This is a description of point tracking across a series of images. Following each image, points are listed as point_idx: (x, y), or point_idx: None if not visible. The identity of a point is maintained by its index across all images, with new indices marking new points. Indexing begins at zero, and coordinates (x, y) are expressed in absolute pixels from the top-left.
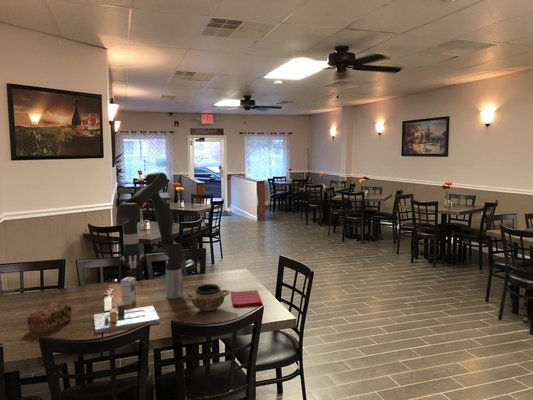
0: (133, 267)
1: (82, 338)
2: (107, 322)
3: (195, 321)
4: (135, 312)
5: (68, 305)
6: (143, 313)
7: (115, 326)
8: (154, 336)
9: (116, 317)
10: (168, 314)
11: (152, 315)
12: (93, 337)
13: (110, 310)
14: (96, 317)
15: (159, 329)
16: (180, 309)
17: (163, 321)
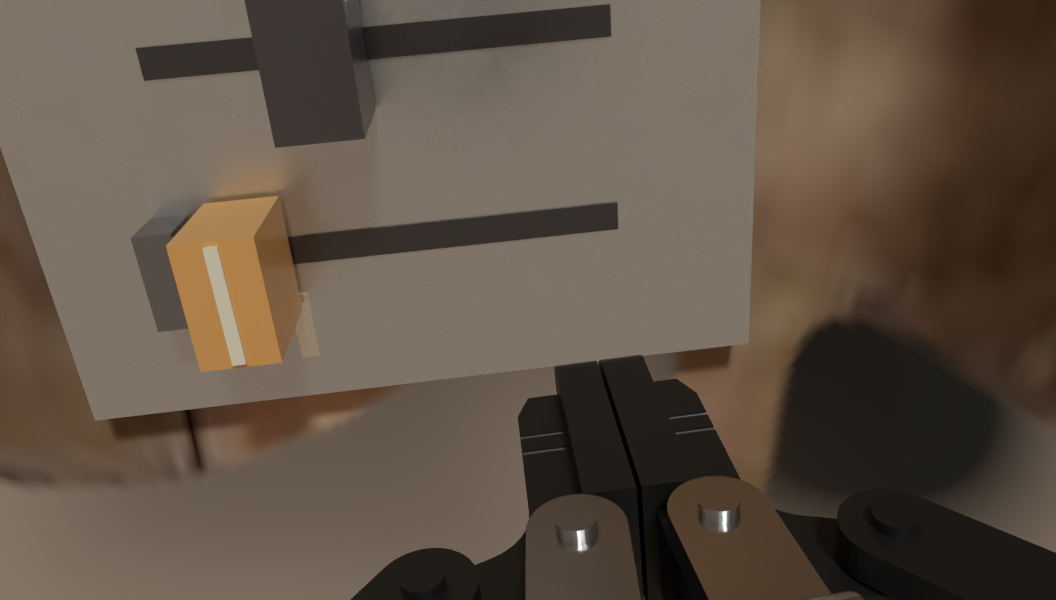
0: (662, 571)
1: (10, 465)
2: None
3: (1040, 395)
4: (513, 62)
5: None
6: (607, 134)
7: (300, 393)
8: None
9: (291, 329)
10: (873, 136)
11: (698, 232)
12: (115, 471)
13: (191, 294)
14: (4, 67)
15: None
16: (1046, 21)
17: (776, 309)
